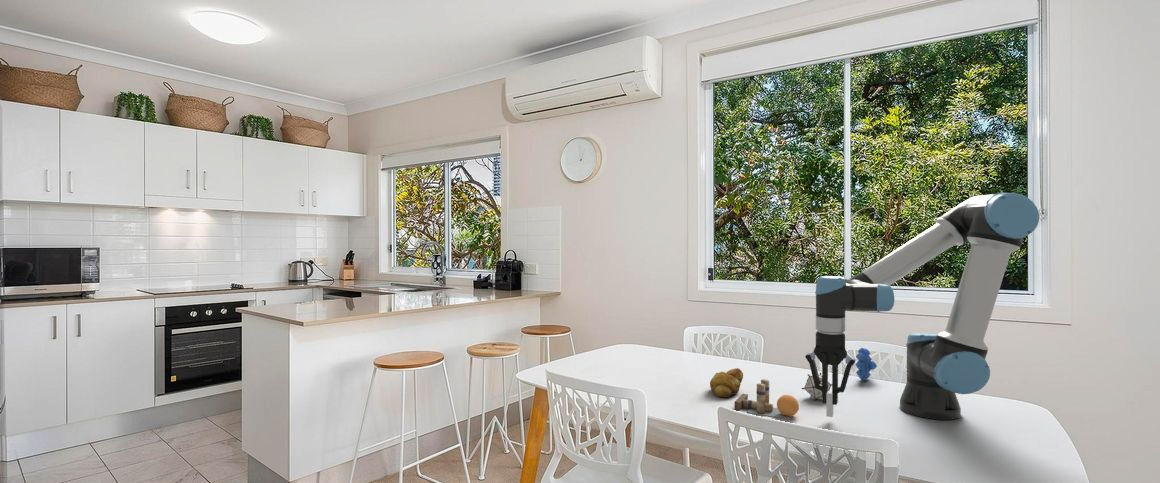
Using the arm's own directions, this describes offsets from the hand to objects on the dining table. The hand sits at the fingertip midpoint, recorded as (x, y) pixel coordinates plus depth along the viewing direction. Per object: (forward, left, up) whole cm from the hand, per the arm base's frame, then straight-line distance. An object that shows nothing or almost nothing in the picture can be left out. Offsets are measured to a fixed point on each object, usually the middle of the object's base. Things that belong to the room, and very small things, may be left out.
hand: (829, 415), depth 152 cm
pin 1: (+18, +2, -2) cm, 19 cm away
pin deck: (+16, 0, -2) cm, 16 cm away
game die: (+6, -20, -2) cm, 21 cm away
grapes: (-6, -50, -2) cm, 50 cm away
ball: (+11, +1, +1) cm, 11 cm away
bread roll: (+33, -11, -2) cm, 35 cm away
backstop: (+25, -1, -2) cm, 25 cm away
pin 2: (+18, -2, -2) cm, 19 cm away
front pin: (+16, 0, -1) cm, 16 cm away
